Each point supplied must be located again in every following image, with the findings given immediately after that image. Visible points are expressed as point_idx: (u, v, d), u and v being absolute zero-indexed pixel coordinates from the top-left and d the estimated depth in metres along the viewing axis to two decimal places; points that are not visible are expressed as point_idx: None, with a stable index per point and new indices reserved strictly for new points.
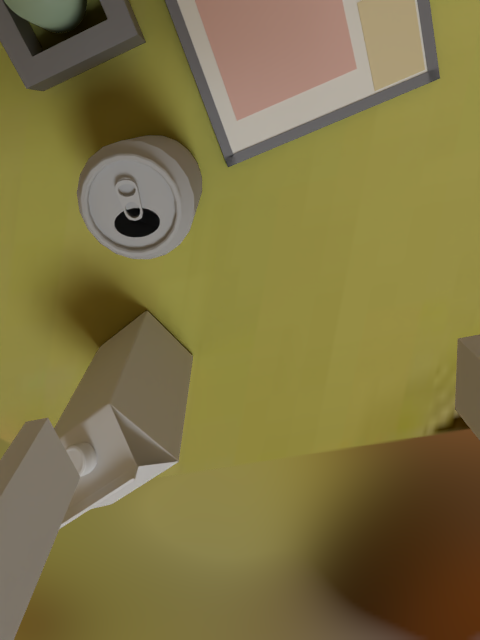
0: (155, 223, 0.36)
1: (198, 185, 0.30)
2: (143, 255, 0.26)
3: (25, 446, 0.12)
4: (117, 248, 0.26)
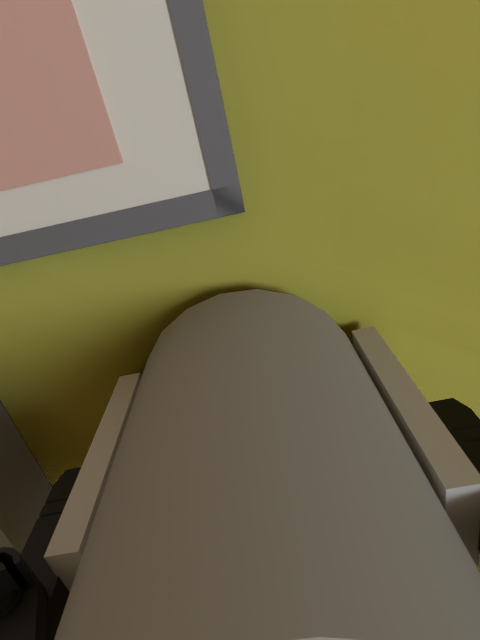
0: None
1: (274, 372, 0.08)
2: None
3: (127, 395, 0.13)
4: None
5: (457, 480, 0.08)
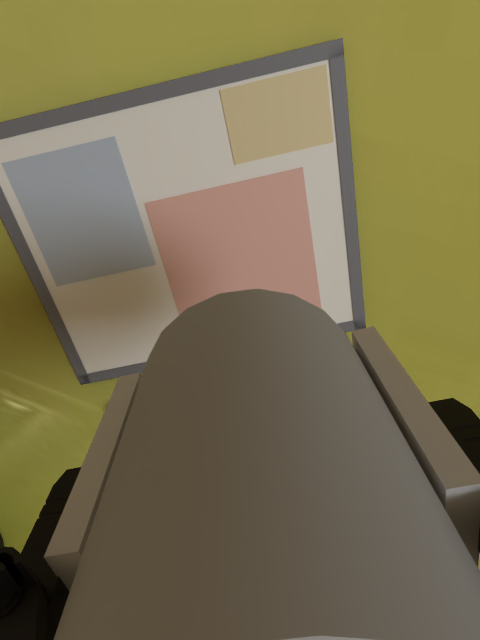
0: None
1: (274, 372, 0.08)
2: None
3: (127, 394, 0.13)
4: None
5: (457, 480, 0.08)
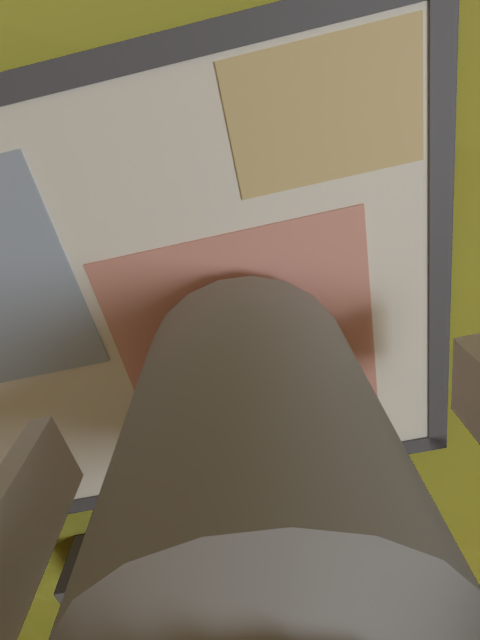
0: None
1: (264, 343, 0.09)
2: None
3: (28, 444, 0.12)
4: None
5: None
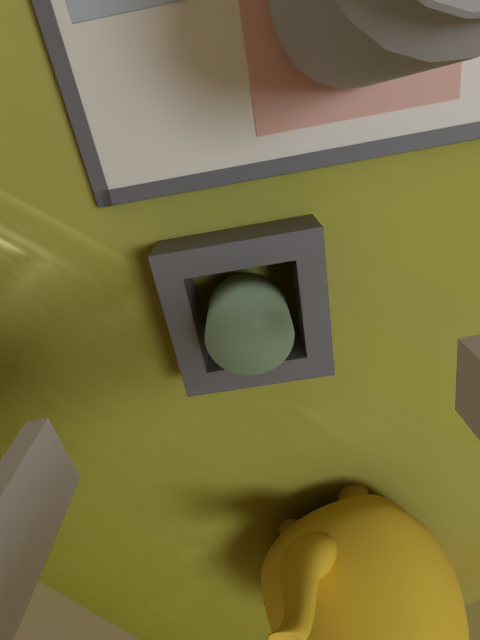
0: None
1: None
2: None
3: (25, 446, 0.12)
4: None
5: None
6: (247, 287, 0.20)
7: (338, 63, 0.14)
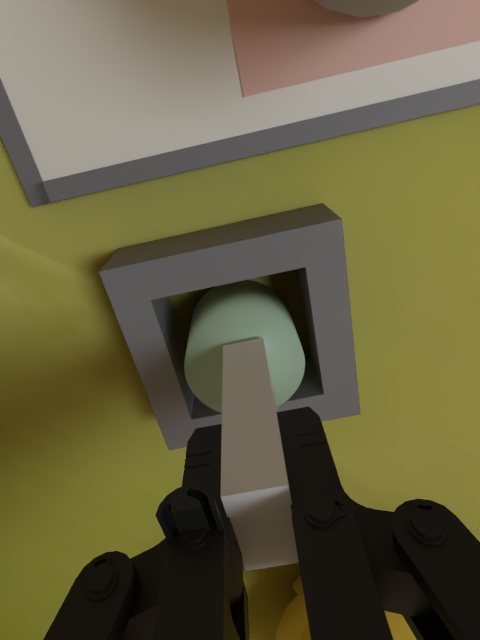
0: None
1: None
2: None
3: (239, 361, 0.13)
4: None
5: (266, 483, 0.09)
6: (239, 301, 0.15)
7: None
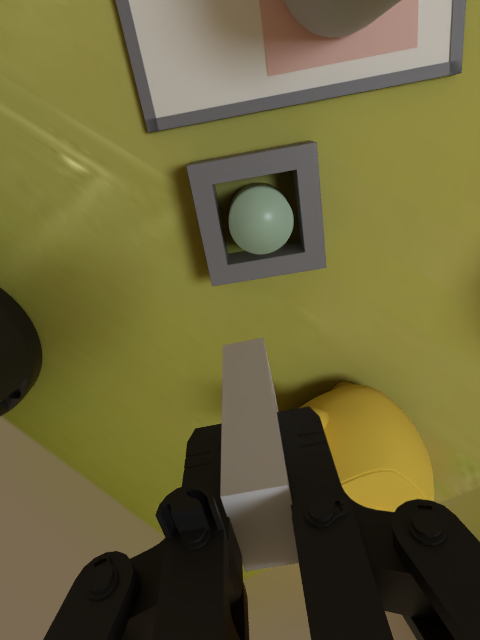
0: None
1: None
2: None
3: (239, 360, 0.13)
4: None
5: (266, 482, 0.09)
6: (259, 186, 0.28)
7: (324, 7, 0.21)
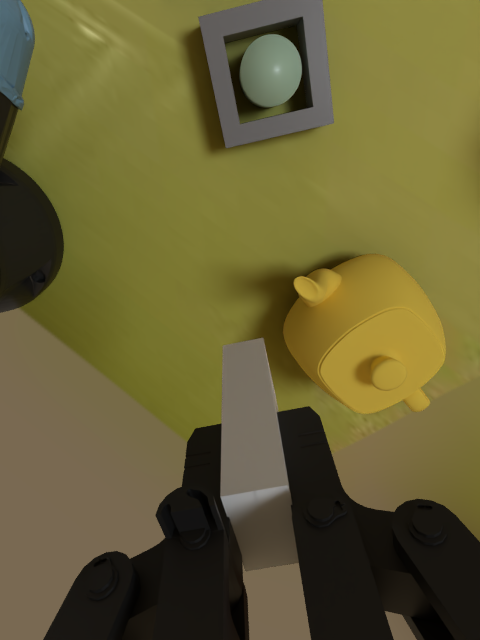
0: None
1: None
2: None
3: (239, 361, 0.13)
4: None
5: (266, 483, 0.09)
6: None
7: None
